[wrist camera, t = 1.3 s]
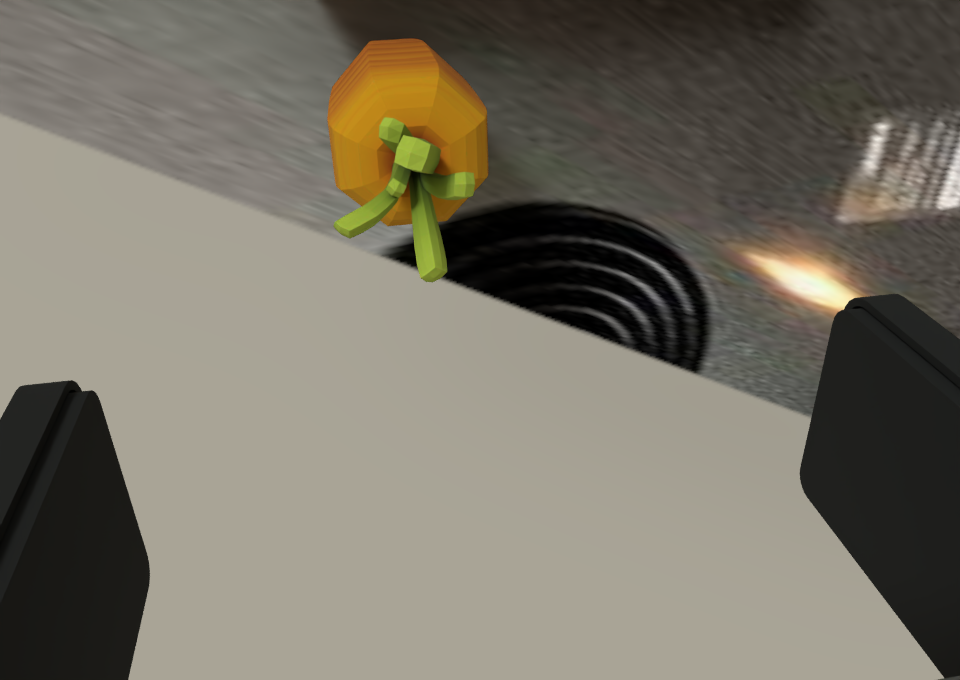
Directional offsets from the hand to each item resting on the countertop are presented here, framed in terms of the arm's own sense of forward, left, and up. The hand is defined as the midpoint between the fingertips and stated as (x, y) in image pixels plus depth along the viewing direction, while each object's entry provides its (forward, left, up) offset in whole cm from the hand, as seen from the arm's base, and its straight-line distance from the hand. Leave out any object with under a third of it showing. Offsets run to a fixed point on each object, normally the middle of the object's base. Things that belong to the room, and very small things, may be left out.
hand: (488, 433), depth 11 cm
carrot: (0, +1, -26) cm, 26 cm away
